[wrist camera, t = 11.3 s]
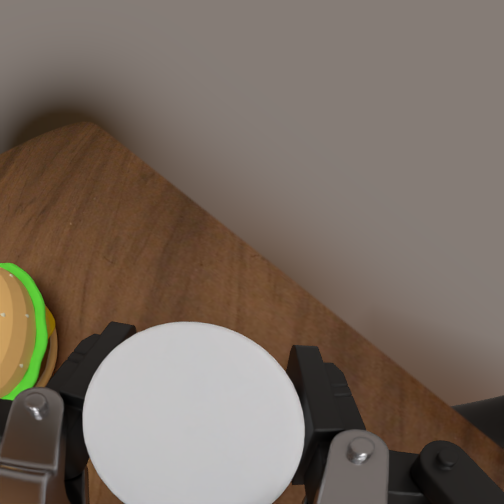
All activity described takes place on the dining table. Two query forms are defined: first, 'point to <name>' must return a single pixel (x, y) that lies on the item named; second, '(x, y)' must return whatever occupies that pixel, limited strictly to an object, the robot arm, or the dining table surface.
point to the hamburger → (24, 334)
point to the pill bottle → (193, 418)
